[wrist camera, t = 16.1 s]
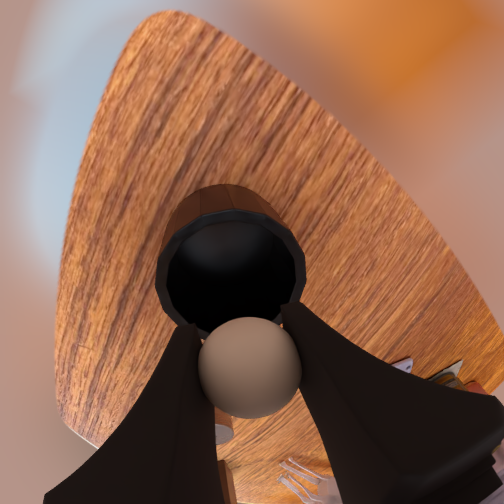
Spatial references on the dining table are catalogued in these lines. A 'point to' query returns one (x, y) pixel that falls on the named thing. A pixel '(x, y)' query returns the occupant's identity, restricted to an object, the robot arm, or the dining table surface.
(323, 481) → the white flat pronged piece
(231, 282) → the cup
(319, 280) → the dining table surface
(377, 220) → the dining table surface
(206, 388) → the beige sphere
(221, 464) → the stand
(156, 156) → the dining table surface
